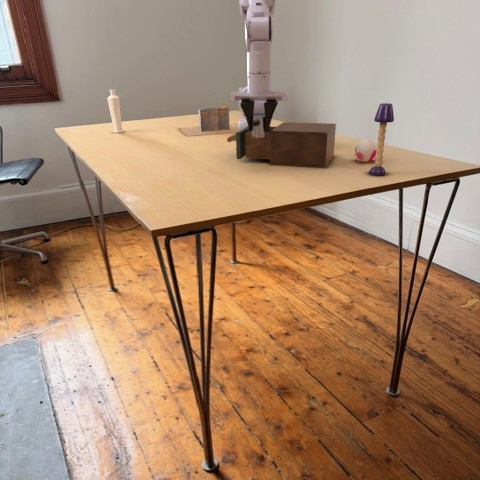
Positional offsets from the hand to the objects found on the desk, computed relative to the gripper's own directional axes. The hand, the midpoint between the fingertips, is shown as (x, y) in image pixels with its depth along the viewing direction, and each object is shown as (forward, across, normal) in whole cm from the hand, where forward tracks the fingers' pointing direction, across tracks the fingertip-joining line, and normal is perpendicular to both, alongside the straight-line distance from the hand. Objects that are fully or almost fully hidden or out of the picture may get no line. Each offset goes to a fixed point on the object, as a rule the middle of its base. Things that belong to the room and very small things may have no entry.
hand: (259, 130), depth 128 cm
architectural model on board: (+10, -34, +56) cm, 67 cm away
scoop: (+1, 0, -1) cm, 2 cm away
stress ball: (+10, +28, +15) cm, 33 cm away
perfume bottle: (+10, -70, +45) cm, 84 cm away
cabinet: (+10, +10, +12) cm, 19 cm away
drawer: (+9, -3, +13) cm, 16 cm away
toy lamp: (+10, +32, +2) cm, 33 cm away
